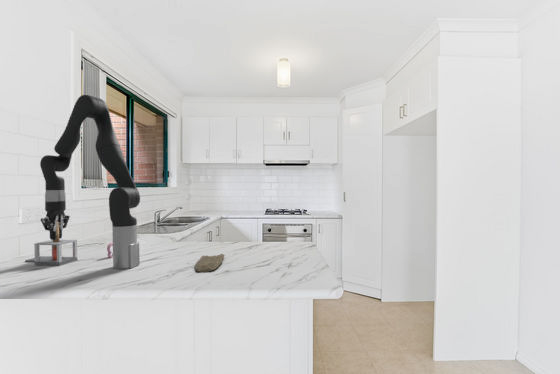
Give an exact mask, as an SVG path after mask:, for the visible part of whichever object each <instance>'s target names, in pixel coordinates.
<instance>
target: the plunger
mask: <svg viewBox="0 0 560 374" xmlns="http://www.w3.org/2000/svg"><path fill="white" fill-rule="evenodd" d="M51 256H53V260H57V248H55V249H53V248H52V247H51Z"/></svg>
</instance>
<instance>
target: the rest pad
mask: <svg viewBox="0 0 560 374" xmlns="http://www.w3.org/2000/svg"><path fill="white" fill-rule="evenodd" d="M51 257H52V255H51V256H47V255H46V256H45V255H44V256H43V255H41V256H40V260H43V259H47V258H51ZM24 262H25V263H35V257H32V258H29V259H24Z"/></svg>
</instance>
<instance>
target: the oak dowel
mask: <svg viewBox="0 0 560 374" xmlns="http://www.w3.org/2000/svg"><path fill="white" fill-rule="evenodd" d="M52 224H54V223H52ZM59 226H60V225H59V221H57V226H56V239H55V240H53V242H55V243H57V242H59V240H60V239H59ZM52 228H53V226H52ZM55 248H57V245H53V249H55Z"/></svg>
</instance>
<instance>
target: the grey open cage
mask: <svg viewBox="0 0 560 374" xmlns="http://www.w3.org/2000/svg"><path fill="white" fill-rule="evenodd" d="M67 244H72V256H63V255H62V252H63V250H62V247H63V246H62V245H67ZM53 245H57V260H53V256H52V255H51V256H52V257H51V258H47V259H43V260H40V246H51V249H52V248H53ZM34 258H35V262H34V266H57V267H59V266H60V267H61V266H63V265H67V264H69V263H72V262H76V261H78V239H59V242H57V243H55V242H53V240H51V239H50V240H46V241H45V240H44V241H40V242H35V243H34Z"/></svg>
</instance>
